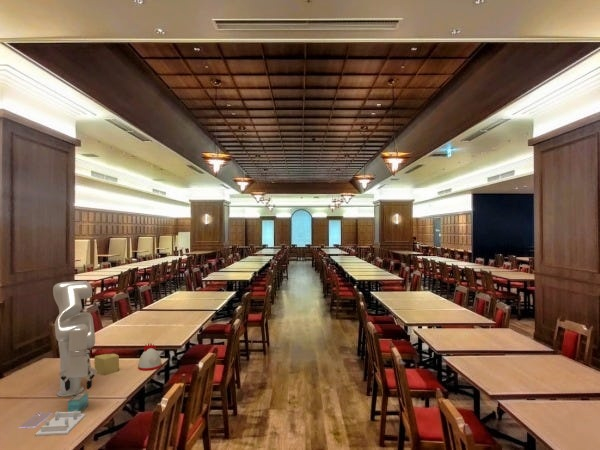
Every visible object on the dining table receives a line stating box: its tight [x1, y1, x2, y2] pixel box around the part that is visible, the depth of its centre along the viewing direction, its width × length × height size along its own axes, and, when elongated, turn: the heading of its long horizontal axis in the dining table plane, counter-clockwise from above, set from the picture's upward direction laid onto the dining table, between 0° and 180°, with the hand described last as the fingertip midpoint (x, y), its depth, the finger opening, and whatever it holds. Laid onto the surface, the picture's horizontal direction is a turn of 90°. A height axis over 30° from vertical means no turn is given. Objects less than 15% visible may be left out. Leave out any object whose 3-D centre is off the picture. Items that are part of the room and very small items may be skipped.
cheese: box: [93, 353, 120, 376], centre depth 252 cm, size 10×11×10 cm
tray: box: [34, 410, 87, 437], centre depth 182 cm, size 18×13×4 cm
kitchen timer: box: [137, 343, 162, 372], centre depth 260 cm, size 14×14×15 cm
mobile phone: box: [18, 411, 53, 429], centre depth 187 cm, size 8×1×15 cm
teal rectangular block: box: [67, 392, 89, 413], centre depth 198 cm, size 10×5×6 cm, turn 5°
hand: (78, 389), depth 197 cm, fingers open, 9 cm apart
